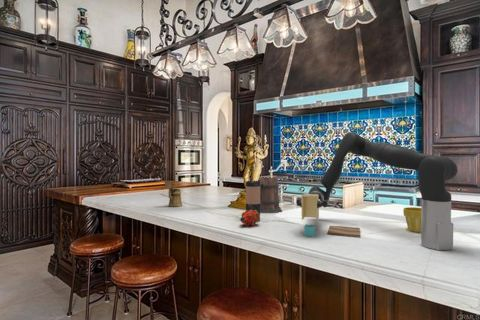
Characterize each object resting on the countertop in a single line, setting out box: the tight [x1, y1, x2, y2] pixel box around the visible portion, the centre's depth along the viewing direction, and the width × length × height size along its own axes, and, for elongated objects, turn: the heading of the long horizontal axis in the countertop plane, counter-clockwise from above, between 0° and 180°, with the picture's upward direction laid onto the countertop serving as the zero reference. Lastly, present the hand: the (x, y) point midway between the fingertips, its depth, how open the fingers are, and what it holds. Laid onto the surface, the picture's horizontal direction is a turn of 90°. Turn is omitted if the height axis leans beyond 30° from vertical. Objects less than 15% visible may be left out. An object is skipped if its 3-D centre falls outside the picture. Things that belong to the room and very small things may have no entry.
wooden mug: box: [163, 179, 183, 208], centre depth 195 cm, size 9×14×18 cm, turn 151°
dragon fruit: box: [239, 209, 261, 227], centre depth 143 cm, size 8×8×12 cm
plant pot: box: [402, 206, 421, 233], centre depth 134 cm, size 10×10×10 cm
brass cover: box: [301, 193, 320, 221], centre depth 126 cm, size 6×6×10 cm
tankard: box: [259, 176, 283, 214], centre depth 179 cm, size 24×17×20 cm
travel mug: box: [245, 180, 261, 220], centre depth 157 cm, size 8×8×20 cm
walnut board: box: [326, 225, 361, 238], centre depth 131 cm, size 13×13×1 cm
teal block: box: [303, 224, 316, 238], centre depth 127 cm, size 4×4×4 cm
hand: (309, 205), depth 124 cm, fingers closed on brass cover, 6 cm apart
